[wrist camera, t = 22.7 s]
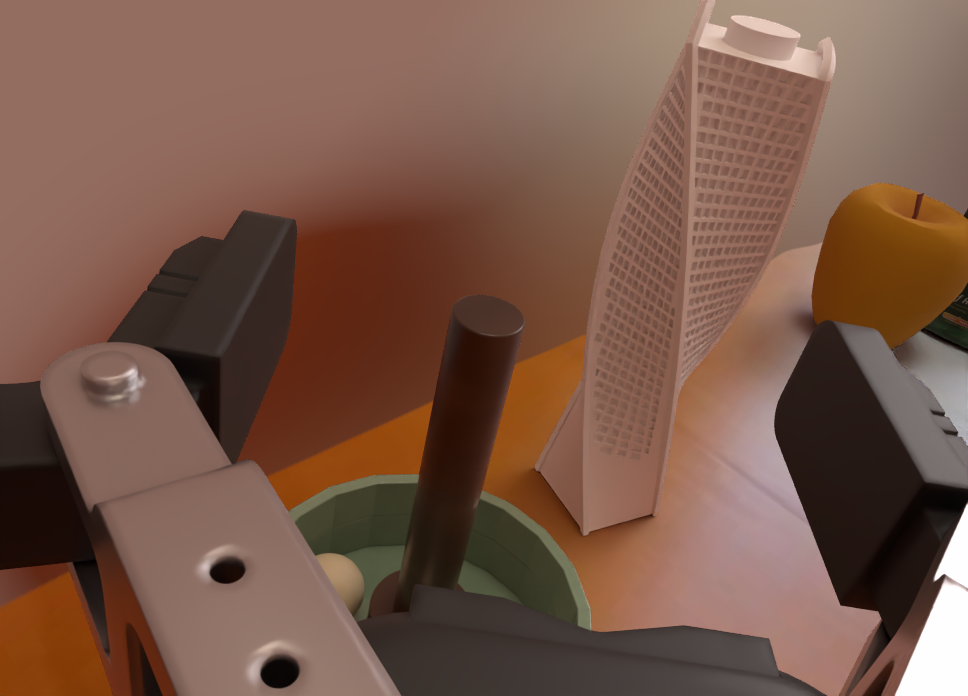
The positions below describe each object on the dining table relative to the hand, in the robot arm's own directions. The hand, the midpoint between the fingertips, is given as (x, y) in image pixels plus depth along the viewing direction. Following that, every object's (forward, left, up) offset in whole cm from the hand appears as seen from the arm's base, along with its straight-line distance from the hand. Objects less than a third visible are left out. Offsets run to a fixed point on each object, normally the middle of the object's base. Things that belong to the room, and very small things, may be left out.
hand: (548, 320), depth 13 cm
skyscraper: (0, +26, -26) cm, 37 cm away
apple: (+14, +57, -26) cm, 65 cm away
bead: (-8, +11, -24) cm, 27 cm away
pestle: (-4, +11, -25) cm, 28 cm away
